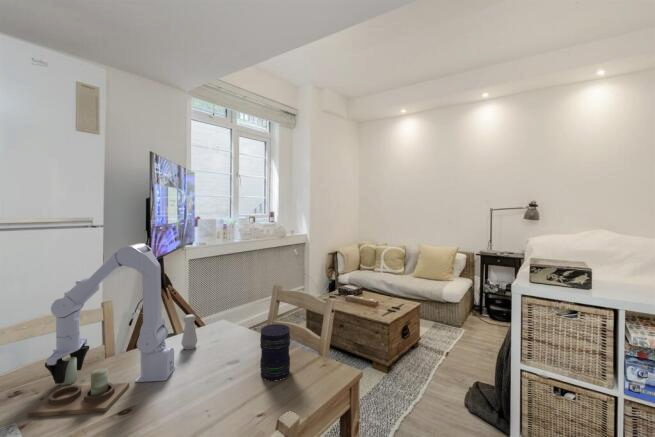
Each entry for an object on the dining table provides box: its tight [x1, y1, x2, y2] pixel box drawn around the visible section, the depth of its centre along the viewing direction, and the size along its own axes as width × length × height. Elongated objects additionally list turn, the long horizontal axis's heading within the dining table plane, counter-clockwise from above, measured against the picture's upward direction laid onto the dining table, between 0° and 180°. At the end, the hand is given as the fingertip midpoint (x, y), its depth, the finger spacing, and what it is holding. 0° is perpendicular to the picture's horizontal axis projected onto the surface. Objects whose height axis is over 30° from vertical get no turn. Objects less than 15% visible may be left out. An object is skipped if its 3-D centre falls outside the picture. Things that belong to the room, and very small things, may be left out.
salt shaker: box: [181, 313, 198, 351], centre depth 121 cm, size 6×6×13 cm
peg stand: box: [27, 367, 130, 418], centre depth 87 cm, size 19×12×8 cm, turn 97°
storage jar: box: [259, 323, 291, 382], centre depth 102 cm, size 10×10×15 cm
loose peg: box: [60, 357, 78, 386], centre depth 96 cm, size 4×4×7 cm
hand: (68, 376), depth 97 cm, fingers open, 7 cm apart
